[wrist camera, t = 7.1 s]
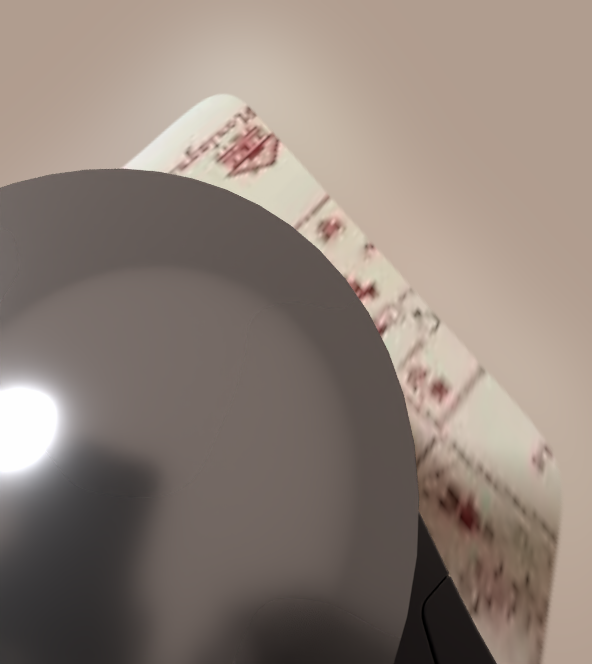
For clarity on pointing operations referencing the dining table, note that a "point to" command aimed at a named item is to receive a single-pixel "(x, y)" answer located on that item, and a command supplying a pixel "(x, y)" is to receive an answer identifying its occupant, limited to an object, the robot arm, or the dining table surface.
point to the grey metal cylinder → (192, 435)
